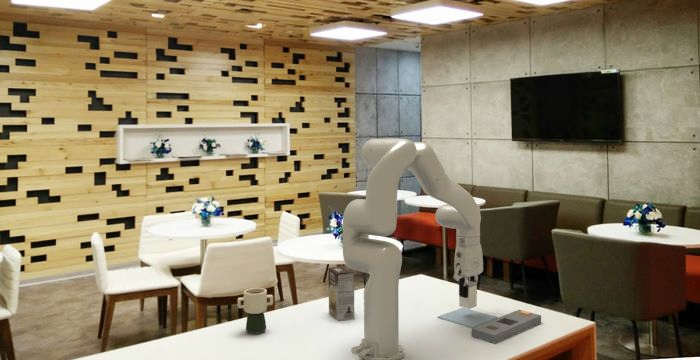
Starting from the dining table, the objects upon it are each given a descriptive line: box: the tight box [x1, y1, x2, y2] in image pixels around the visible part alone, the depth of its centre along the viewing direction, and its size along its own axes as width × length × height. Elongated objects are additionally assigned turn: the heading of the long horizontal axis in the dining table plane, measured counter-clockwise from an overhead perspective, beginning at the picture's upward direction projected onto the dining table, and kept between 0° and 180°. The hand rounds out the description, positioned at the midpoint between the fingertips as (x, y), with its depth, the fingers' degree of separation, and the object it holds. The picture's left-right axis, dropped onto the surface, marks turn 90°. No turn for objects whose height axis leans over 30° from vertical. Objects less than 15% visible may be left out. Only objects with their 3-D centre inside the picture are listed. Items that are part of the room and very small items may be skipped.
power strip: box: [470, 309, 542, 345], centre depth 172 cm, size 26×8×3 cm, turn 132°
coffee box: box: [328, 265, 355, 322], centre depth 185 cm, size 9×6×16 cm
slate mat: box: [437, 307, 499, 329], centre depth 183 cm, size 14×14×1 cm
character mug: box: [237, 287, 274, 334], centre depth 172 cm, size 11×7×13 cm, turn 108°
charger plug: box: [458, 279, 478, 310], centre depth 182 cm, size 4×4×8 cm
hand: (468, 294), depth 182 cm, fingers closed on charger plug, 4 cm apart
